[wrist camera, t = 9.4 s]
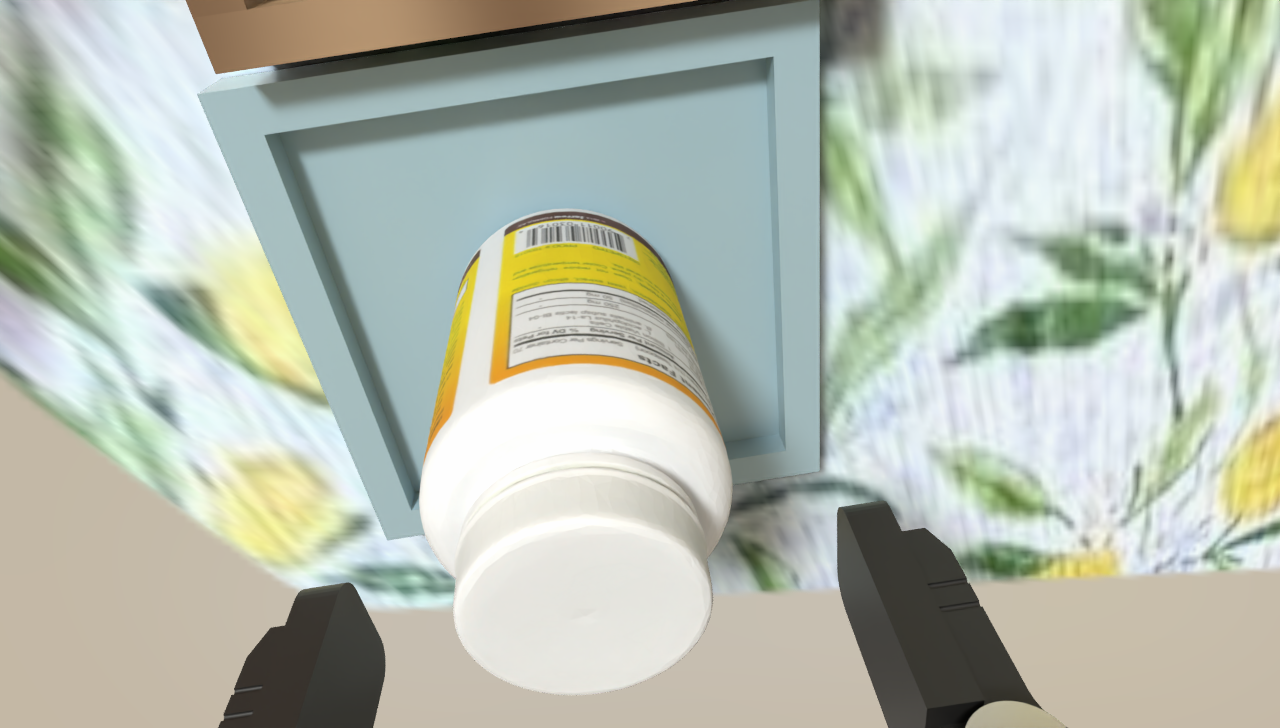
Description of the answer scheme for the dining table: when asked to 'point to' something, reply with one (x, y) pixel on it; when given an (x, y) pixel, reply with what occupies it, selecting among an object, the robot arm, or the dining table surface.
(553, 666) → the supplement bottle
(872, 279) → the dining table surface
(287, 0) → the frame
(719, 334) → the tray
